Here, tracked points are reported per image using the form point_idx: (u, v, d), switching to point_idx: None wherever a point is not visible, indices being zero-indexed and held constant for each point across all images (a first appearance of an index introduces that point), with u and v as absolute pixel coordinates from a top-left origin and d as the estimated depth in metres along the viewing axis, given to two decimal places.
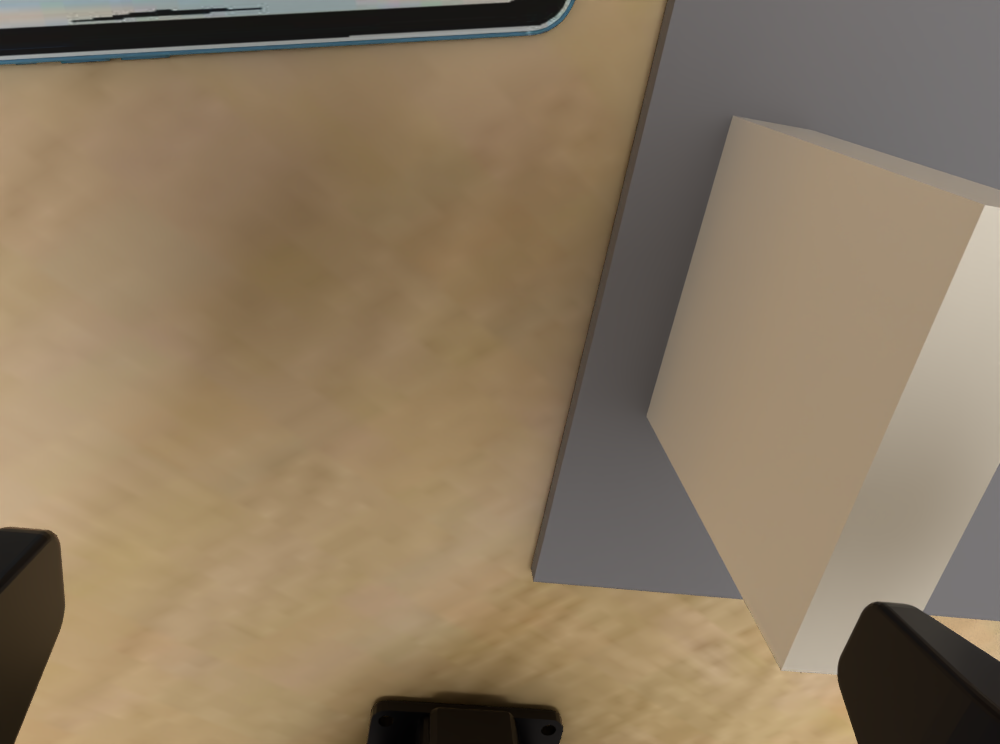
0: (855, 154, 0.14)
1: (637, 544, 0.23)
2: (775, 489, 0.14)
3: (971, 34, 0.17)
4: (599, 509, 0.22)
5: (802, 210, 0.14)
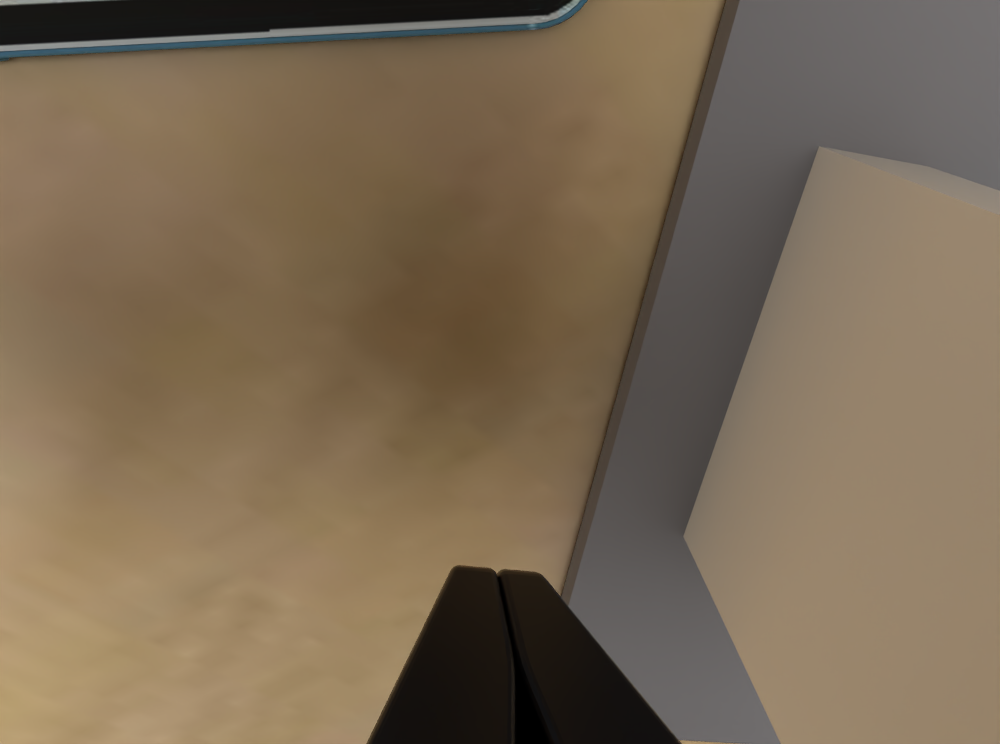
0: None
1: (666, 687, 0.18)
2: None
3: None
4: (618, 647, 0.17)
5: (960, 312, 0.09)
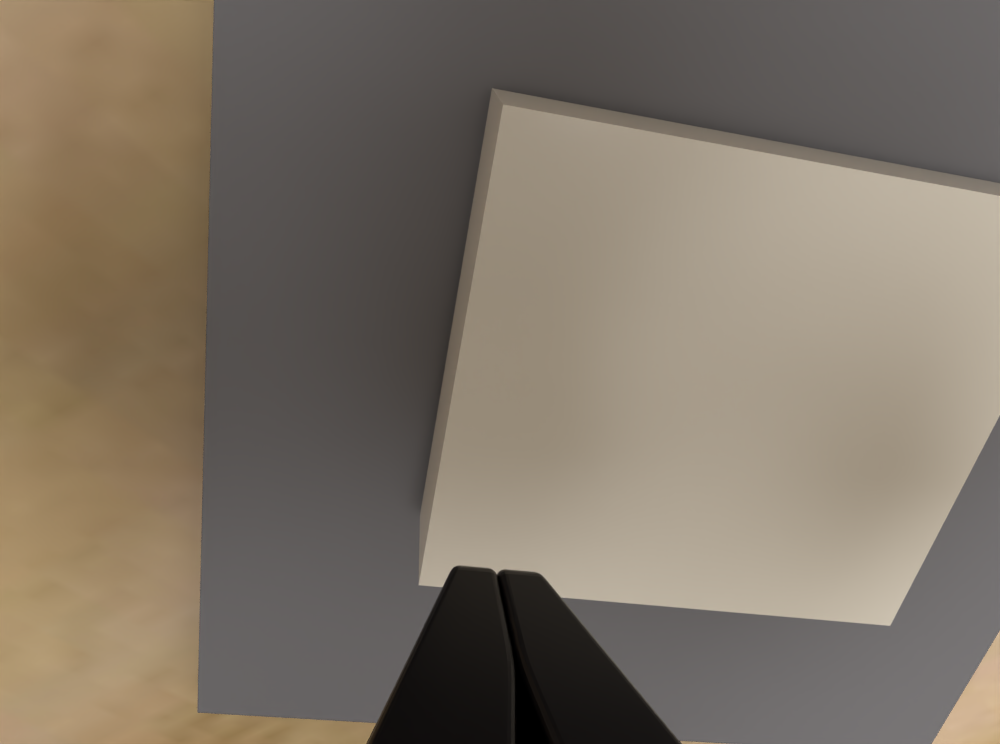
0: (825, 160, 0.11)
1: (335, 665, 0.17)
2: (835, 517, 0.13)
3: None
4: (269, 621, 0.16)
5: (799, 243, 0.11)
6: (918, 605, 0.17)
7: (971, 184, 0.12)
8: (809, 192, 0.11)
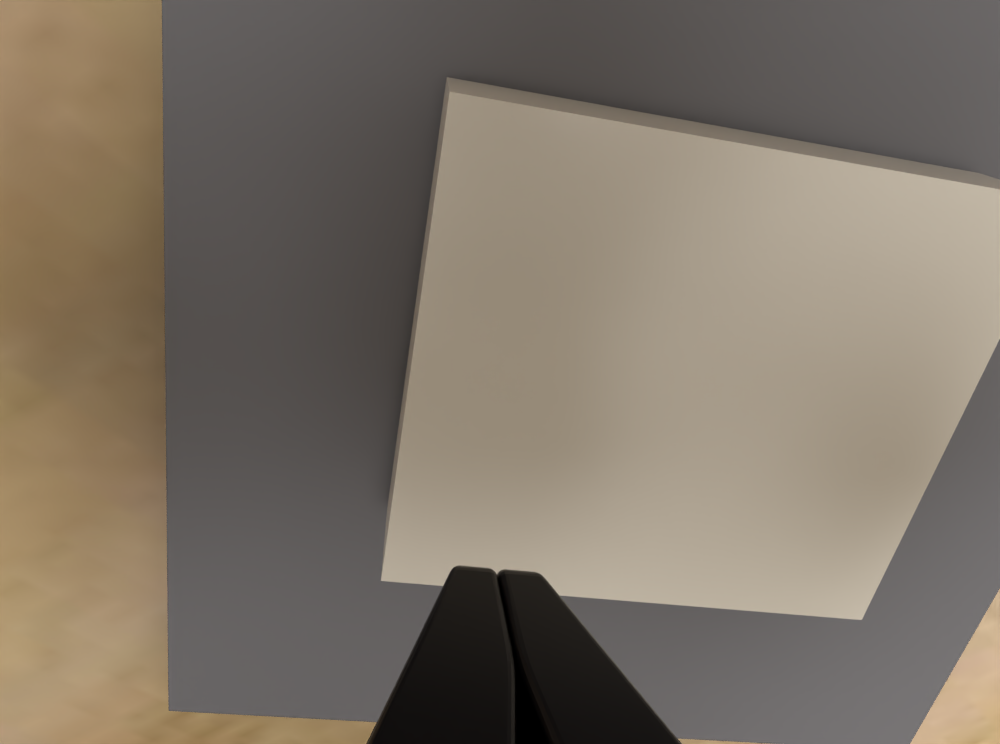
0: (782, 147, 0.11)
1: (306, 663, 0.17)
2: (801, 510, 0.13)
3: None
4: (238, 618, 0.16)
5: (756, 231, 0.11)
6: (895, 599, 0.17)
7: (934, 171, 0.12)
8: (765, 179, 0.11)
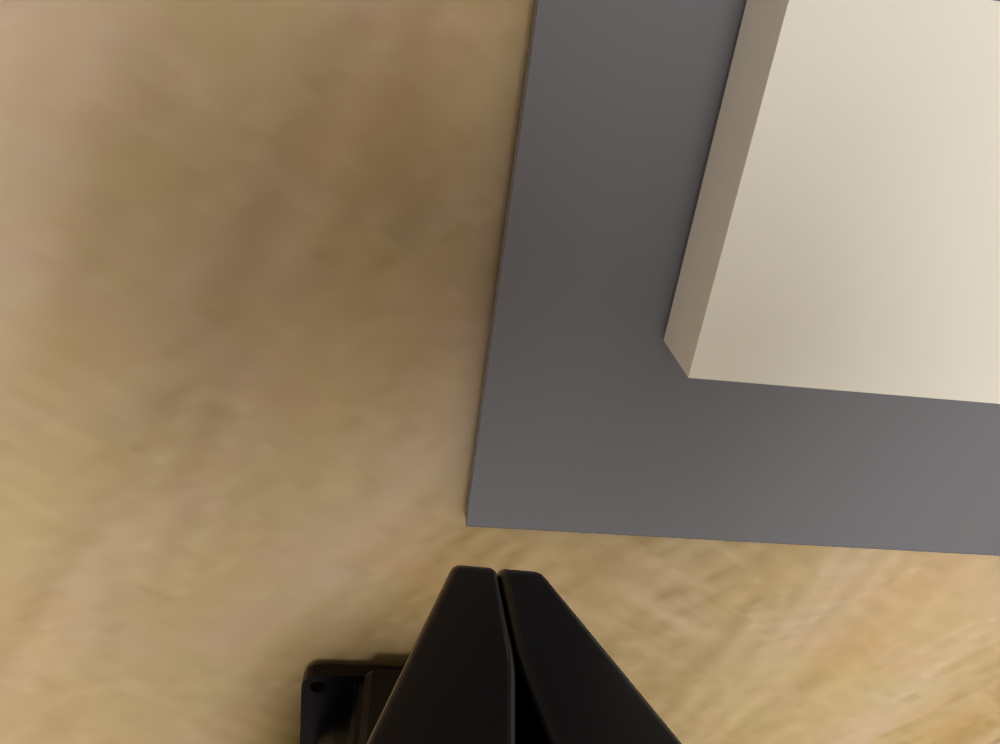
0: None
1: (580, 480, 0.20)
2: None
3: None
4: (532, 441, 0.20)
5: None
6: None
7: None
8: None
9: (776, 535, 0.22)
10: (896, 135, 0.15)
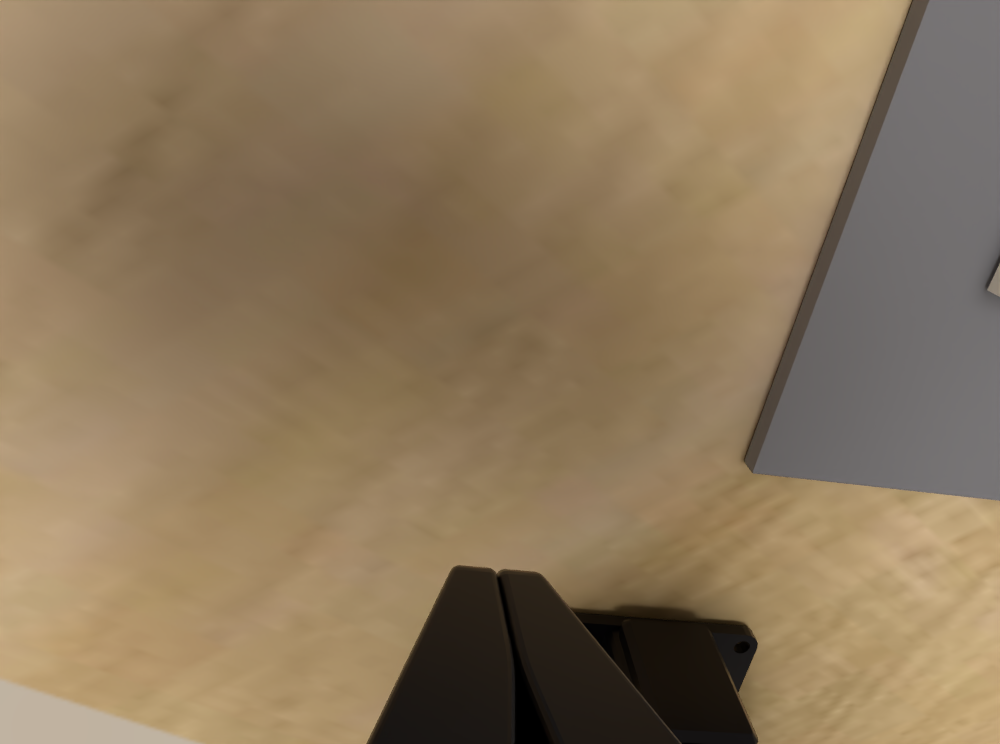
0: None
1: (871, 431, 0.21)
2: None
3: None
4: (836, 388, 0.20)
5: None
6: None
7: None
8: None
9: None
10: None
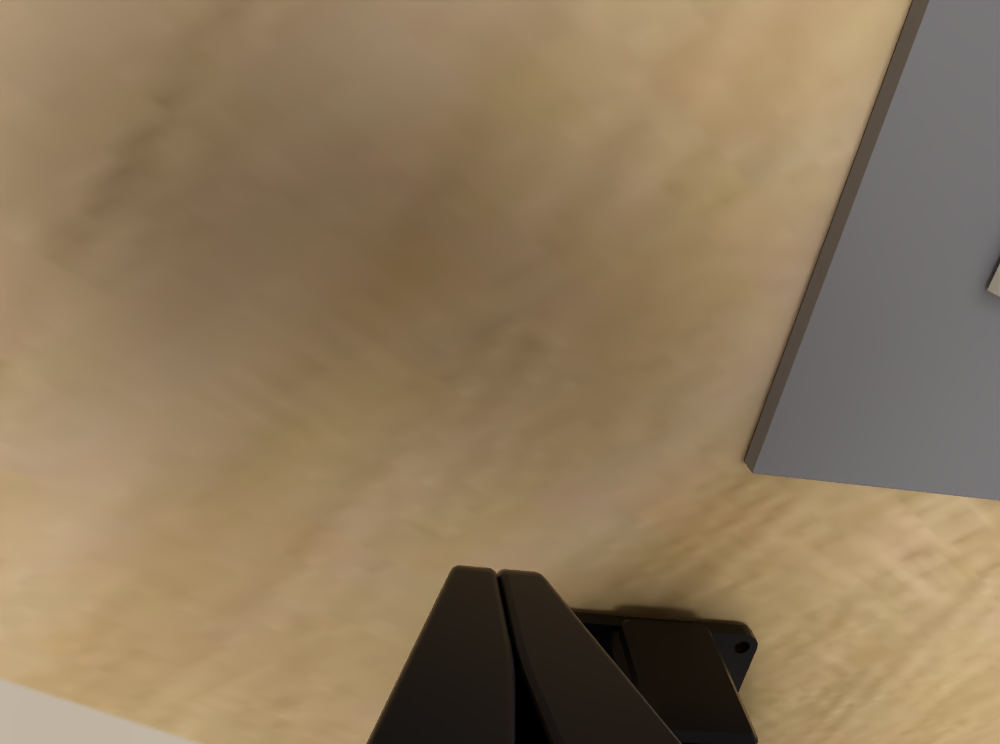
0: None
1: (871, 431, 0.21)
2: None
3: None
4: (836, 388, 0.20)
5: None
6: None
7: None
8: None
9: None
10: None
